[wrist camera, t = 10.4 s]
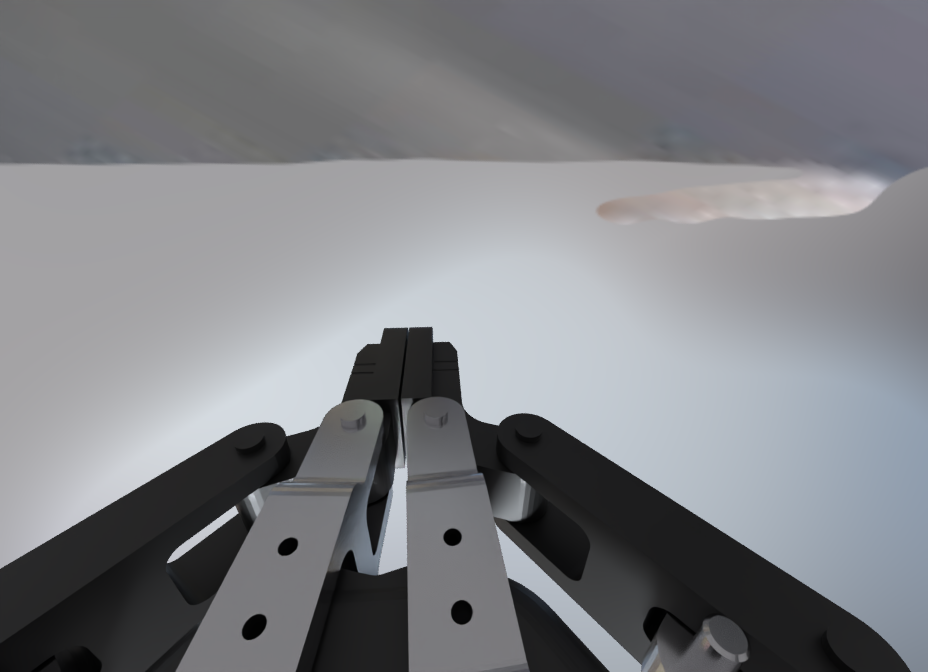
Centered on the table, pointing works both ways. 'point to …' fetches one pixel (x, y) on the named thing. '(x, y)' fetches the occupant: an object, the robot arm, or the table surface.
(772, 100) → the table surface
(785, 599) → the robot arm
